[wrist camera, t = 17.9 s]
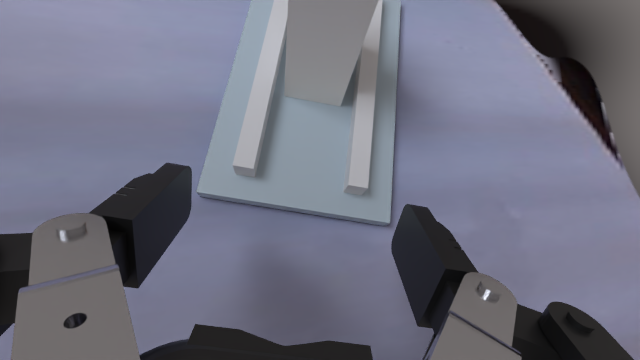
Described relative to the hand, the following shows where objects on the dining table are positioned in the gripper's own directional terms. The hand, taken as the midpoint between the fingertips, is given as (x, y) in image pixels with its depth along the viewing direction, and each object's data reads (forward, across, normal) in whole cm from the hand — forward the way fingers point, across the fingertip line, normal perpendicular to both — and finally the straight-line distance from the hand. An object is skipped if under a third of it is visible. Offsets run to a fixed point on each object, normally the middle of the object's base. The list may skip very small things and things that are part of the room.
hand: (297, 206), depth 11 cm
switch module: (+13, 0, -3) cm, 14 cm away
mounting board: (+14, 0, -3) cm, 14 cm away
